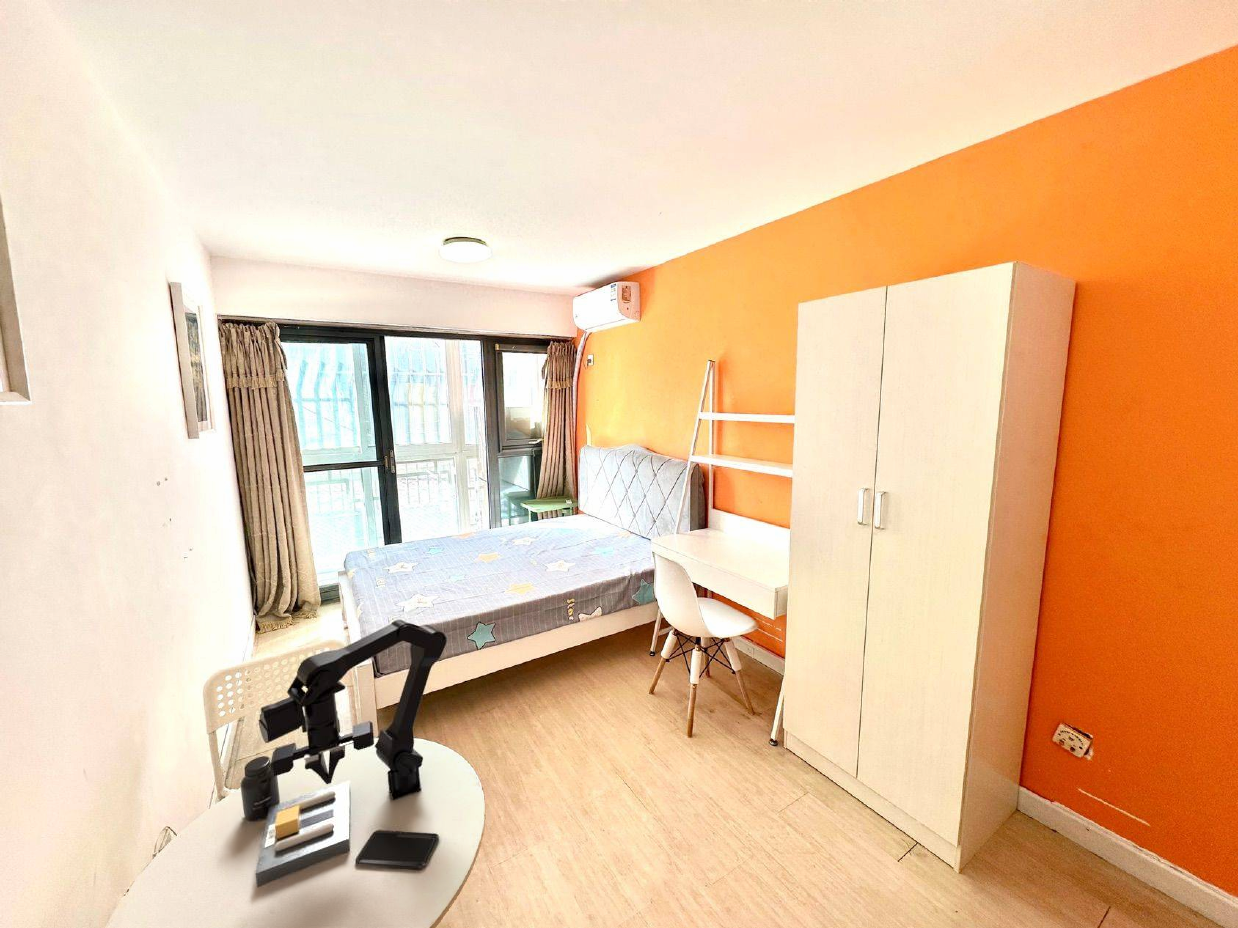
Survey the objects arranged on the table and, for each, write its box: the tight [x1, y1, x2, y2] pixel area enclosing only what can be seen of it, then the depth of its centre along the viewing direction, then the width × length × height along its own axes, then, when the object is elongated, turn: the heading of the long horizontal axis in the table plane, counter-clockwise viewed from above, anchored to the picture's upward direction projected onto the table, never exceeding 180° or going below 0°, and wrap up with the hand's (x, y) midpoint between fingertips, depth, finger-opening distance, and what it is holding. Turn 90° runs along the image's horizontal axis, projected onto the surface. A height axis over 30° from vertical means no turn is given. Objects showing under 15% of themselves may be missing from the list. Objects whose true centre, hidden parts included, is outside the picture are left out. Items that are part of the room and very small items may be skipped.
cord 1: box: [275, 823, 334, 851], centre depth 104 cm, size 11×2×2 cm, turn 118°
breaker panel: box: [255, 780, 352, 888], centre depth 109 cm, size 16×18×3 cm
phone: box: [354, 829, 440, 871], centre depth 104 cm, size 8×1×15 cm
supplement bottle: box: [240, 755, 281, 822], centre depth 115 cm, size 7×7×12 cm
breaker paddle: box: [275, 805, 301, 839], centre depth 107 cm, size 4×4×3 cm
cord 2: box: [281, 791, 336, 811], centre depth 113 cm, size 11×2×2 cm, turn 118°
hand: (328, 782), depth 108 cm, fingers closed
